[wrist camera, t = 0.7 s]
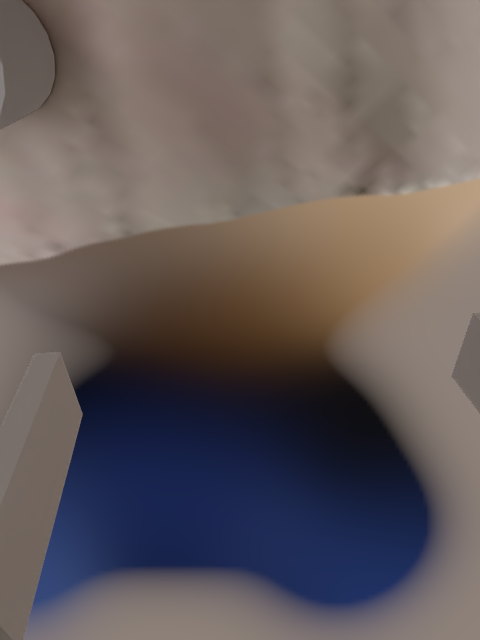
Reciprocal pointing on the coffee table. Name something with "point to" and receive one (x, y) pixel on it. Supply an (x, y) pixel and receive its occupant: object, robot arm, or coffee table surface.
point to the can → (23, 62)
